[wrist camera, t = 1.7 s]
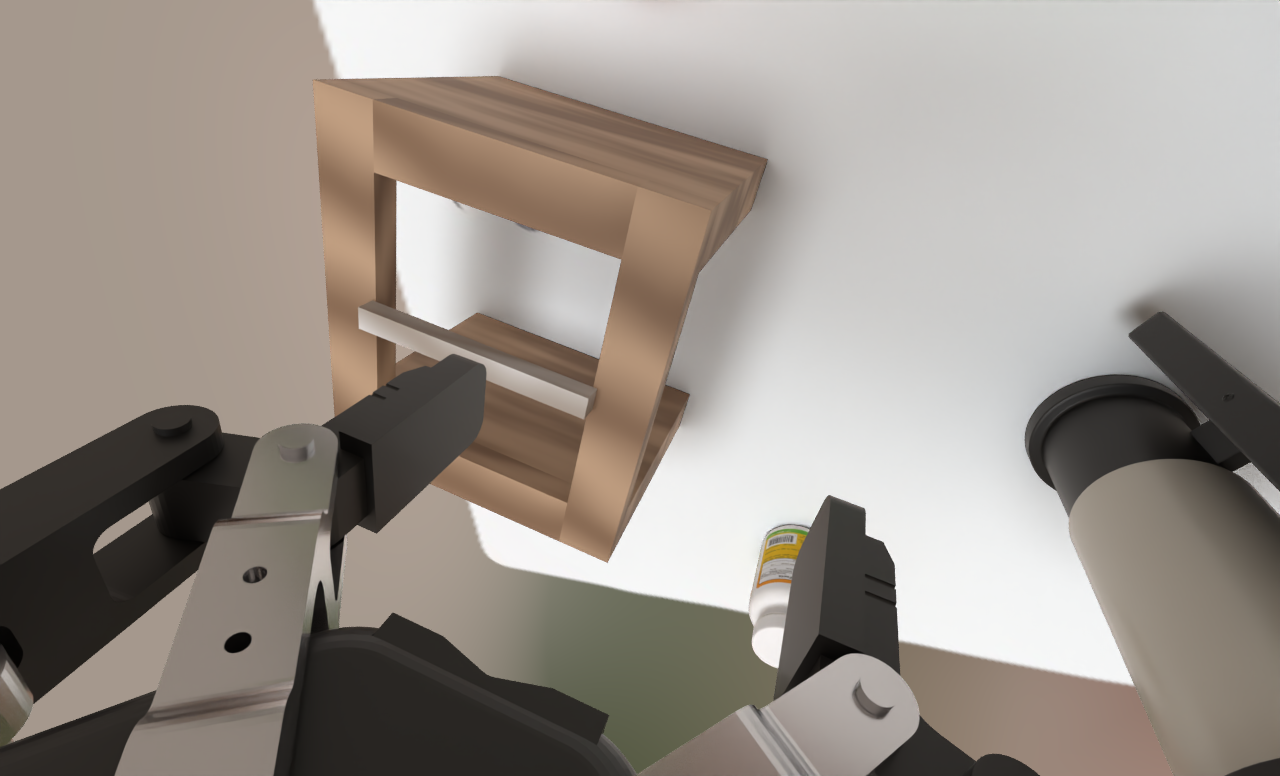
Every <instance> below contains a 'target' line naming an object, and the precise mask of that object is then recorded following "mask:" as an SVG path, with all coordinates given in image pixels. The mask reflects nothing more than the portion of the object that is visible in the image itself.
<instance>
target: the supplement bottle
mask: <svg viewBox="0 0 1280 776" xmlns="http://www.w3.org/2000/svg"><path fill="white" fill-rule="evenodd" d="M809 530H810V529H808V528H805V527H801V526H795V525H786V526H781V527H778V528H775V529H773V530H772V531H770V532H769V533H768V534H767V535H766V537H765V538H764V540H763V543H762V547H761V551H760V556H759V560H758V565H757V569H756V574H755V579H754V583H753V588H752V592H751V597H750V602H749V615H750V619H751V621H752V623H753V625H754V629H753V637H752V647H753V649H754V651H755V653H756V654H757V656H759V658H760V659H761V660H763V661H764V662H765V663H767V664H769V665H771V666H773V667H776V668H778V667H779V660H780V653H781V647H782V640H783V634H784V627H785V620H786V614H787V607H788V601H789V594H790V587H791V581H792V574H793V570H794V566H795V562H796V559H797V556H798V553H799V551H800V548H801V546H802V544H803V542H804V540H805V538H806V536H807V534H808V532H809Z"/></svg>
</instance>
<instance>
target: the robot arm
mask: <svg viewBox="0 0 1280 776" xmlns="http://www.w3.org/2000/svg"><path fill="white" fill-rule="evenodd" d="M486 374H487V372H486V367H485V365H483V364H481V363H478V362H476V361H473V360H470V359H468V358H465V357H462V356H460V355H457V354H451V355H449V356H447V357H446V358H444V359H443V360H441V361H440V362H438V363H437V364H436V365H434V366H433V367H428V366H423V367H419V368H416V369H413V370H409V371H406V372H403V373H401V374H400V375H398V376H397V377H395V378H394V379H392V380H391V381H389V382H388V383H386V386H382V387H380V388H379V389H377V390H375V391H374V392H373V394H372V395H368V396H366V397H365V398H363V399H362V400H360V401H359V402H357V403H356V404H354V405H353V406H351V407H349V408H348V409H346V410H345V411H343V412H342V413H340V414H339V415H337V416H336V417H334V418H333V419H331V420H330V421H329V422H327V423H325V424H324V425H322V426H319V425H314V424H292V425H287V426H283V427H280V428H277V429H275V430H272V431H270V432H268V433H267V434H265V435H264V436H262V437H261V438H256V437H249V436H242V435H235V434H228V433H222V431H221V427H220V423H219V419H218V416H217V415H216V414H215V413H214V412H213V411H211V410H209V409H207V408H204V407H200V406H193V405H178V406H170V407H164V408H160V409H157V410H154V411H151V412H148V413H146V414H144V415H142V416H140V417H138V418H136V419H134V420H132V421H130V422H128V423H126V424H125V425H123V426H121V427H119V428H117V429H115V430H113V431H111V432H109V433H107V434H105V435H104V436H102V437H100V438H98V439H96V440H94V441H92V442H90V443H88V444H86V445H85V446H82V447H81V448H79V449H77V450H75V451H73V452H71V453H69V454H67V455H65V456H63V457H61V458H60V459H58V460H56V461H54V462H52V463H50V464H48V465H46V466H44V467H42V468H40V469H38V470H37V471H35V472H33V473H31V474H29V475H27V476H25V477H23V478H21V479H20V480H18V481H16V482H14V483H12V484H10V485H8V486H6V487H4V488H2V489H0V776H1040V775H1038V774H1037V773H1036V772H1035V771H1034V770H1032V769H1031V768H1029V767H1028V766H1027V765H1025V764H1023V763H1022V762H1020V761H1018V760H1016V759H1014V758H1011V757H1009V756H1005V755H1001V754H988V755H985V756H983V757H981V758H980V759H978V760H977V761H975V760H973V759H972V758H971V757H969V756H968V755H967V754H965V753H964V752H963V751H961V750H960V749H959V748H957V747H956V746H955V745H953V744H952V743H951V742H949V741H948V740H947V739H945V738H944V737H942V736H941V735H940V734H939V733H937V732H936V731H935V730H934V729H933V728H932V727H930V726H929V725H928V724H927V723H926V722H925V721H924V720H923V718H922V717H921V716H920V715H919V709H918V704H917V702H916V699H915V697H914V695H913V693H912V691H911V689H910V688H909V686H908V685H907V683H906V682H905V681H904V680H903V679H902V677H901V676H900V663H899V644H898V624H897V608H896V607H895V605H896V590H895V586H896V584H895V565H894V562H893V561H892V559H891V557H890V555H889V553H888V551H887V549H886V547H885V545H884V543H883V542H882V541H879V540H877V539H874V538H871V537H869V536H866V535H865V521H866V513H865V509H864V508H862V507H859V506H857V505H854V504H851V503H849V502H846V501H843V500H841V499H838V498H835V497H833V496H830V495H828V496H827V497H826V499H825V500H824V502H823V504H822V506H821V508H820V510H819V512H818V514H817V516H816V518H815V520H814V522H813V524H812V526H811V528H810V530H809V532H808V534H807V536H806V538H805V540H804V542H803V544H802V546H801V548H800V551H799V553H798V556H797V559H796V562H795V566H794V570H793V574H792V581H791V587H790V594H789V601H788V607H787V614H786V620H785V627H784V634H783V640H782V647H781V653H780V660H779V667H778V673H777V680H776V686H775V694H774V700H773V702H772V703H770V704H769V705H767V706H766V707H764V708H762V709H759V710H758V709H757V708H756V707H755V706H754V705H748V706H745V707H743V708H741V709H739V710H738V711H736V712H734V713H733V714H731V715H730V716H728V717H727V718H725V719H723V720H722V721H720V722H719V723H717V724H715V725H714V726H712V727H711V728H710V729H708V730H706V731H704V732H703V733H701V734H700V735H698V736H697V737H695V738H694V739H692V740H690V741H689V742H687V743H686V744H684V745H682V746H681V747H679V748H678V749H676V750H675V751H673V752H671V753H670V754H668V755H667V756H665V757H664V758H662V759H660V760H659V761H657V762H656V763H654V764H653V765H651V766H650V767H648V768H646V769H645V770H643V771H641V772H640V773H638V774H636V772H635V771H634V769H633V767H632V766H631V764H630V763H629V762H628V760H627V759H626V757H625V756H624V755H623V754H622V752H621V751H620V750H619V749H618V748H617V747H616V746H615V745H614V743H612V742H611V741H610V740H609V739H608V738H607V737H606V736H604V735H603V733H604V729H605V726H606V723H607V720H608V717H609V715H608V714H606V713H603V712H601V711H599V710H597V709H595V708H593V707H591V706H589V705H586V704H584V703H582V702H580V701H578V700H576V699H574V698H572V697H570V696H568V695H565V694H563V693H561V692H559V691H557V690H555V689H553V688H548V687H542V686H537V685H532V684H526V683H521V682H516V681H510V680H505V679H500V678H494V677H491V676H489V675H486V674H485V673H484V672H483V671H481V670H480V669H479V668H478V667H477V666H476V665H475V664H473V663H472V662H471V661H470V660H469V659H468V658H467V657H466V656H465V655H463V654H462V653H461V652H460V651H459V650H458V649H457V648H456V647H454V646H453V645H452V644H451V643H450V642H449V641H448V640H447V639H445V638H444V637H443V636H441V635H439V634H437V633H435V632H433V631H431V630H429V629H427V628H424V627H422V626H420V625H418V624H416V623H414V622H412V621H410V620H407V619H405V618H403V617H401V616H399V615H397V614H395V613H392V614H391V615H390V616H389V618H388V619H387V620H386V621H385V622H384V623H383V624H382V626H381V627H380V628H372V627H343V628H339V619H340V608H341V598H342V588H343V579H344V570H345V560H346V551H347V533H348V532H350V531H351V530H352V529H353V528H354V527H355V526H356V525H359V526H361V527H363V528H366V529H368V530H370V531H372V532H374V533H378V532H379V531H380V530H381V529H382V528H383V527H384V526H385V525H386V524H387V523H388V522H389V521H390V520H391V519H393V518H394V517H395V516H396V515H397V514H398V513H399V512H400V511H401V510H402V509H403V508H404V507H405V506H406V505H407V504H408V503H409V502H410V501H412V500H413V499H414V498H415V497H416V496H417V495H418V494H419V493H420V492H421V491H422V490H423V489H424V488H425V487H426V486H427V485H428V484H430V483H431V482H432V481H433V480H434V479H435V478H436V477H437V476H438V475H439V474H440V473H441V472H442V471H443V470H444V469H445V468H446V467H447V466H449V465H450V464H451V463H452V462H453V461H454V460H455V459H456V458H457V457H458V456H459V455H460V454H461V453H462V452H463V451H464V450H465V449H467V448H468V447H469V446H470V445H471V444H472V443H473V441H474V440H475V439H476V437H477V435H478V434H479V431H480V429H481V426H482V423H483V417H484V403H485V389H486ZM148 501H149V504H150V507H151V510H152V513H153V514H152V515H151V516H149V517H148V518H146V519H145V520H143V521H142V522H140V523H139V524H137V525H136V526H134V527H133V528H131V529H130V530H128V531H127V532H126V533H124V534H123V535H121V536H120V537H118V538H117V539H115V540H114V541H112V542H111V543H109V544H108V545H107V546H105V547H103V548H102V549H100V550H99V551H98V552H96V553H94V554H93V548H94V545H95V543H96V541H97V539H98V537H100V535H101V534H102V533H103V532H104V531H105V530H106V529H107V528H109V527H110V526H112V525H113V524H115V523H116V522H118V521H119V520H120V519H122V518H124V517H125V516H127V515H128V514H130V513H131V512H133V511H135V510H136V509H138V508H139V507H141V506H142V505H144V504H145V503H147V502H148ZM197 570H198V572H197V575H196V578H195V581H194V583H193V586H192V589H191V593H190V595H189V598H188V601H187V604H186V607H185V610H184V613H183V615H182V618H181V621H180V624H179V627H178V630H177V633H176V636H175V639H174V641H173V644H172V647H171V650H170V653H169V656H168V659H167V662H166V665H165V668H164V670H163V673H162V677H161V679H160V682H159V685H158V688H157V690H156V691H153V692H150V693H148V694H145V695H142V696H139V697H136V698H134V699H131V700H128V701H125V702H123V703H120V704H117V705H115V706H112V707H109V708H106V709H103V710H101V711H98V712H95V713H92V714H90V715H87V716H84V717H81V718H79V719H76V720H73V721H70V722H68V723H65V724H62V725H59V726H57V727H54V728H51V729H49V730H46V731H43V732H40V733H37V734H35V735H32V736H29V737H26V738H24V739H21V740H18V741H15V742H14V741H13V739H12V738H13V737H14V736H15V735H16V734H17V733H18V732H19V730H20V729H21V728H22V727H23V725H24V724H25V722H26V721H27V719H28V717H29V715H30V713H31V710H32V707H33V704H34V703H35V702H37V701H38V700H39V699H40V698H41V697H43V696H44V695H45V694H46V693H48V692H49V691H50V690H51V689H52V688H54V687H55V686H56V685H57V684H59V683H60V682H61V681H62V680H63V679H65V678H66V677H67V676H69V675H70V674H71V673H72V672H73V671H75V670H76V669H77V668H78V667H79V666H81V665H82V664H83V663H84V662H86V661H87V660H88V659H89V658H91V657H92V656H93V655H94V654H95V653H97V652H98V651H99V650H100V649H102V648H103V647H104V646H105V645H106V644H108V643H109V642H110V641H111V640H113V639H114V638H115V637H116V636H118V635H119V634H120V633H121V632H122V631H124V630H125V629H126V628H127V627H129V626H130V625H131V624H132V623H134V622H135V621H136V620H137V619H138V618H140V617H141V616H142V615H143V614H145V613H146V612H147V611H148V610H149V609H151V608H152V607H153V606H154V605H155V604H157V603H158V602H159V601H160V600H161V599H163V598H164V597H165V596H166V595H168V594H169V593H170V592H172V591H173V590H174V589H175V588H176V587H178V586H179V585H180V584H181V583H182V582H184V581H185V580H186V579H187V578H189V577H190V576H191V575H192V574H193V573H195V572H196V571H197Z"/></svg>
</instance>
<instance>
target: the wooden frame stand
mask: <svg viewBox="0 0 1280 776" xmlns="http://www.w3.org/2000/svg"><path fill="white" fill-rule="evenodd" d="M313 90H314V105H315V119H316V120H315V121H316V136H317V150H318V151H317V152H318V165H319V182H320V198H321V211H322V212H321V213H322V228H323V243H324V259H325V275H326V290H327V305H328V321H329V336H330V350H331V351H330V352H331V367H332V381H333V396H334V397H333V398H334V412H335V417H336V416H337V415H339V414H340V413H342V412H343V411H345V410H346V409H348V408H349V407H351V406H353V405H354V404H356V403H357V402H359V401H360V400H362V399H363V398H365V397H366V396H368V395H372V394H373V392H374V391H375V390H377V389H379V388H380V387H382V386H386V383H388V382H389V381H391V380H392V379H394V378H395V377H397V376H398V375H400V374H401V373H403V372H406V371H409V370H413V369H416V368H419V367H423V366H428V367H433V366H434V365H436V364H437V363H438V362H440V361H441V360H443V359H444V358H446V357H447V356H449V355H451V354H457V355H460V356H462V357H465V358H468V359H470V360H473V361H476V362H478V363H481V364H483V365H485V367H486V372H487V374H486V389H485V403H484V417H483V423H482V426H481V429H480V431H479V434H478V435H477V437H476V439H475V440H474V441H473V443H472V444H471V445H470V446H469V447H468V448H467V449H465V450H464V451H463V452H462V453H461V454H460V455H459V456H458V457H457V458H456V459H455V460H454V461H453V462H452V463H451V464H450V465H449V466H447V467H446V468H445V469H444V470H443V471H442V472H441V473H440V474H439V475H438V476H437V477H436V478H435V479H434V480H433V481H432V482H431V483H430V484H432V485H434V486H436V487H439V488H441V489H443V490H445V491H448V492H450V493H452V494H454V495H457V496H459V497H461V498H463V499H465V500H468V501H470V502H472V503H474V504H477V505H479V506H481V507H483V508H486V509H488V510H490V511H492V512H495V513H497V514H499V515H501V516H504V517H506V518H508V519H510V520H513V521H515V522H517V523H519V524H522V525H524V526H526V527H528V528H531V529H533V530H535V531H537V532H540V533H542V534H544V535H546V536H549V537H551V538H553V539H555V540H558V541H560V542H562V543H564V544H567V545H569V546H571V547H573V548H576V549H578V550H580V551H582V552H585V553H587V554H589V555H591V556H593V557H596V558H598V559H600V560H602V561H605V562H607V563H608V561H609V559H610V557H611V555H612V553H613V551H614V549H615V547H616V545H617V544H618V542H619V540H620V538H621V536H622V534H623V532H624V530H625V528H626V526H627V524H628V523H629V521H630V519H631V517H632V515H633V513H634V511H635V509H636V507H637V505H638V504H639V502H640V500H641V498H642V496H643V494H644V492H645V490H646V488H647V486H648V485H649V483H650V481H651V479H652V477H653V475H654V473H655V471H656V469H657V467H658V466H659V464H660V462H661V460H662V458H663V456H664V454H665V452H666V450H667V448H668V447H669V445H670V443H671V441H672V439H673V437H674V435H675V433H676V431H677V429H678V428H679V425H680V422H681V419H682V416H683V413H684V410H685V407H686V404H687V401H688V398H689V395H690V394H687V393H685V392H682V391H680V390H677V389H674V388H672V387H669V386H667V385H665V383H666V380H667V377H668V373H669V370H670V367H671V364H672V360H673V357H674V354H675V350H676V347H677V344H678V340H679V337H680V334H681V330H682V327H683V324H684V320H685V317H686V314H687V310H688V307H689V304H690V300H691V297H692V294H693V291H694V287H695V284H696V281H697V277H698V274H699V272H700V271H701V270H702V268H703V267H704V266H705V265H706V264H707V262H708V261H709V260H710V259H711V258H712V256H713V255H714V254H715V253H716V251H717V250H718V249H719V248H720V247H721V245H722V244H723V243H724V242H725V241H726V239H727V238H728V237H729V236H730V235H731V233H732V232H733V231H734V230H735V228H736V227H737V226H738V225H739V224H740V222H741V221H742V220H743V219H744V218H745V216H746V215H747V214H748V213H749V212H750V210H751V209H752V206H753V203H754V200H755V196H756V193H757V190H758V187H759V184H760V181H761V178H762V175H763V172H764V169H765V166H766V163H767V160H768V159H765V158H761V157H758V156H755V155H752V154H748V153H745V152H742V151H739V150H735V149H732V148H729V147H726V146H723V145H719V144H716V143H713V142H710V141H706V140H703V139H700V138H697V137H693V136H690V135H687V134H684V133H680V132H677V131H674V130H671V129H667V128H664V127H661V126H658V125H654V124H651V123H648V122H645V121H641V120H638V119H635V118H632V117H628V116H625V115H622V114H619V113H616V112H612V111H609V110H606V109H603V108H599V107H596V106H593V105H590V104H586V103H583V102H580V101H577V100H573V99H570V98H567V97H564V96H560V95H557V94H554V93H551V92H547V91H544V90H541V89H538V88H534V87H531V86H528V85H525V84H522V83H518V82H515V81H512V80H509V79H505V78H502V77H499V76H482V77H428V78H374V79H320V80H313ZM396 180H397V181H400V182H403V183H406V184H408V185H411V186H414V187H417V188H420V189H423V190H425V191H428V192H431V193H434V194H437V195H440V196H443V197H445V198H448V199H451V200H454V201H457V202H460V203H462V204H465V205H468V206H471V207H474V208H477V209H479V210H482V211H485V212H488V213H491V214H494V215H496V216H499V217H502V218H505V219H508V220H511V221H514V222H516V223H519V224H522V225H525V226H528V227H531V228H533V229H536V230H539V231H542V232H545V233H548V234H550V235H553V236H556V237H559V238H562V239H565V240H567V241H570V242H573V243H576V244H579V245H582V246H585V247H587V248H590V249H593V250H596V251H599V252H602V253H604V254H607V255H610V256H613V257H616V258H619V259H621V265H620V269H619V274H618V278H617V283H616V287H615V292H614V296H613V300H612V305H611V309H610V314H609V318H608V323H607V327H606V332H605V336H604V341H603V345H602V350H601V354H600V359H596V358H594V357H591V356H589V355H586V354H583V353H581V352H578V351H576V350H573V349H570V348H568V347H565V346H563V345H560V344H558V343H555V342H552V341H550V340H547V339H545V338H542V337H539V336H537V335H534V334H532V333H529V332H526V331H524V330H521V329H519V328H516V327H513V326H511V325H508V324H506V323H503V322H500V321H498V320H495V319H493V318H490V317H487V316H485V315H482V314H480V313H476V314H474V315H473V316H471V317H469V318H468V319H466V320H465V321H463V322H461V323H460V324H458V325H457V326H455V327H453V328H452V329H450V330H447V329H444V328H441V327H439V326H436V325H434V324H431V323H429V322H426V321H424V320H421V319H419V318H416V317H414V316H411V315H408V314H406V313H403V312H401V311H398V310H396ZM396 344H398V345H401V346H403V347H406V348H409V349H411V350H413V351H415V352H413V353H412V354H410V355H408V356H407V357H405V358H404V359H402V360H401V361H399V362H397V363H396Z"/></svg>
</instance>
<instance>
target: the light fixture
mask: <svg viewBox="0 0 1280 776" xmlns="http://www.w3.org/2000/svg"><path fill="white" fill-rule="evenodd" d="M1129 338H1130V339H1131V340H1132V341H1133V342H1134V343H1135V344H1136V345H1137V346H1138V347H1139V348H1140V349H1141V350H1142V351H1143V352H1144V353H1145V354H1146V355H1147V356H1148V357H1149V358H1150V359H1151V360H1152V361H1153V362H1154V363H1155V364H1156V365H1157V366H1158V367H1159V368H1160V369H1161V370H1162V372H1163V373H1164V374H1165V375H1166V376H1167V377H1168V378H1169V379H1170V380H1171V381H1172V382H1173V383H1174V384H1175V385H1176V386H1177V387H1178V388H1179V389H1180V390H1181V391H1182V392H1183V393H1184V394H1185V395H1186V396H1187V397H1188V398H1189V399H1190V400H1191V401H1192V402H1193V403H1194V404H1195V405H1196V406H1197V407H1198V408H1199V409H1200V410H1201V411H1202V412H1203V413H1204V414H1205V415H1206V416H1207V418H1208V419H1209V421H1208V422H1206V423H1204V424H1202V425H1201V426H1200V423H1199V421H1198V418H1197V417H1196V415H1195V413H1194V412H1193V411H1192V409H1191V408H1190V407H1189V406H1188V405H1187V404H1186V403H1185V402H1184V401H1183V400H1182V399H1181V398H1180V397H1179V396H1178V395H1177V394H1176V393H1175V392H1173V391H1172V390H1170V389H1169V388H1167V387H1165V386H1163V385H1161V384H1159V383H1157V382H1154V381H1151V380H1148V379H1145V378H1140V377H1134V376H1125V375H1109V376H1100V377H1094V378H1089V379H1086V380H1082V381H1079V382H1076V383H1073V384H1071V385H1069V386H1066V387H1065V388H1063V389H1061V390H1059V391H1057V392H1056V393H1054V394H1053V395H1051V396H1050V397H1049V398H1047V399H1046V400H1045V401H1044V402H1043V403H1042V404H1041V405H1040V406H1039V407H1038V408H1037V409H1036V411H1035V412H1034V414H1033V415H1032V417H1031V419H1030V421H1029V423H1028V426H1027V429H1026V433H1025V447H1026V451H1027V454H1028V457H1029V459H1030V462H1031V464H1032V466H1033V468H1034V470H1035V472H1036V473H1037V474H1038V476H1039V477H1040V478H1041V479H1042V480H1043V481H1044V482H1045V483H1046V484H1047V485H1049V486H1050V487H1052V488H1053V489H1054V490H1056V491H1057V492H1058V495H1059V497H1060V499H1061V501H1062V504H1063V506H1064V508H1065V510H1066V512H1067V515H1068V517H1069V533H1070V537H1071V540H1072V543H1073V545H1074V547H1075V550H1076V552H1077V554H1078V556H1079V559H1080V561H1081V563H1082V566H1083V568H1084V570H1085V573H1086V575H1087V577H1088V579H1089V582H1090V584H1091V586H1092V589H1093V591H1094V593H1095V596H1096V598H1097V600H1098V603H1099V605H1100V607H1101V609H1102V612H1103V614H1104V616H1105V619H1106V621H1107V623H1108V626H1109V628H1110V630H1111V632H1112V635H1113V637H1114V639H1115V642H1116V644H1117V646H1118V649H1119V651H1120V653H1121V655H1122V658H1123V660H1124V662H1125V665H1126V667H1127V669H1128V672H1129V674H1130V676H1131V678H1132V681H1133V683H1134V685H1135V688H1136V690H1137V692H1138V695H1139V697H1140V699H1141V701H1142V704H1143V706H1144V708H1145V711H1146V713H1147V715H1148V718H1149V720H1150V722H1151V724H1152V727H1153V729H1154V731H1155V734H1156V736H1157V738H1158V741H1159V743H1160V745H1161V747H1162V750H1163V752H1164V754H1165V757H1166V759H1167V761H1168V764H1169V766H1170V768H1171V771H1172V773H1173V775H1174V776H1280V515H1279V514H1278V513H1277V512H1276V511H1275V510H1274V509H1273V508H1272V506H1271V505H1270V504H1269V503H1268V502H1267V501H1266V500H1265V499H1264V498H1263V497H1262V496H1261V495H1260V494H1259V492H1258V491H1257V490H1256V489H1255V488H1254V487H1253V486H1252V485H1251V484H1250V483H1248V482H1247V481H1246V480H1244V479H1243V478H1242V477H1240V476H1238V475H1237V474H1235V473H1233V471H1235V470H1237V469H1239V468H1240V467H1242V466H1244V465H1246V464H1248V463H1250V462H1252V463H1253V465H1254V466H1255V467H1256V468H1257V469H1258V470H1259V471H1260V472H1261V473H1262V474H1263V475H1264V476H1265V477H1266V478H1267V479H1268V480H1269V481H1270V482H1271V483H1272V484H1273V485H1274V486H1275V487H1276V488H1277V489H1278V490H1279V491H1280V403H1279V402H1277V401H1276V400H1275V399H1273V398H1272V397H1271V396H1270V395H1268V394H1267V393H1266V392H1265V391H1263V390H1262V389H1261V388H1260V387H1258V386H1257V385H1256V384H1255V383H1253V382H1252V381H1251V380H1250V379H1248V378H1247V377H1246V376H1244V375H1243V374H1242V373H1241V372H1239V371H1238V370H1237V369H1236V368H1234V367H1233V366H1232V365H1231V364H1229V363H1228V362H1227V361H1226V360H1224V359H1223V358H1222V357H1221V356H1219V355H1218V354H1217V353H1215V352H1214V351H1213V350H1212V349H1210V348H1209V347H1208V346H1207V345H1205V344H1204V343H1203V342H1202V341H1200V340H1199V339H1198V338H1197V337H1195V336H1194V335H1193V334H1192V333H1190V332H1189V331H1188V330H1186V329H1185V328H1184V327H1183V326H1181V325H1180V324H1179V323H1178V322H1176V321H1175V320H1174V319H1173V318H1171V317H1170V316H1169V315H1168V314H1166V313H1165V312H1158V313H1157V314H1155V315H1154V316H1153V317H1151V318H1150V319H1148V320H1147V321H1146V322H1144V323H1143V324H1141V325H1140V326H1139V327H1137V328H1136V329H1134V330H1133V331H1132V332H1130V333H1129Z"/></svg>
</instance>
